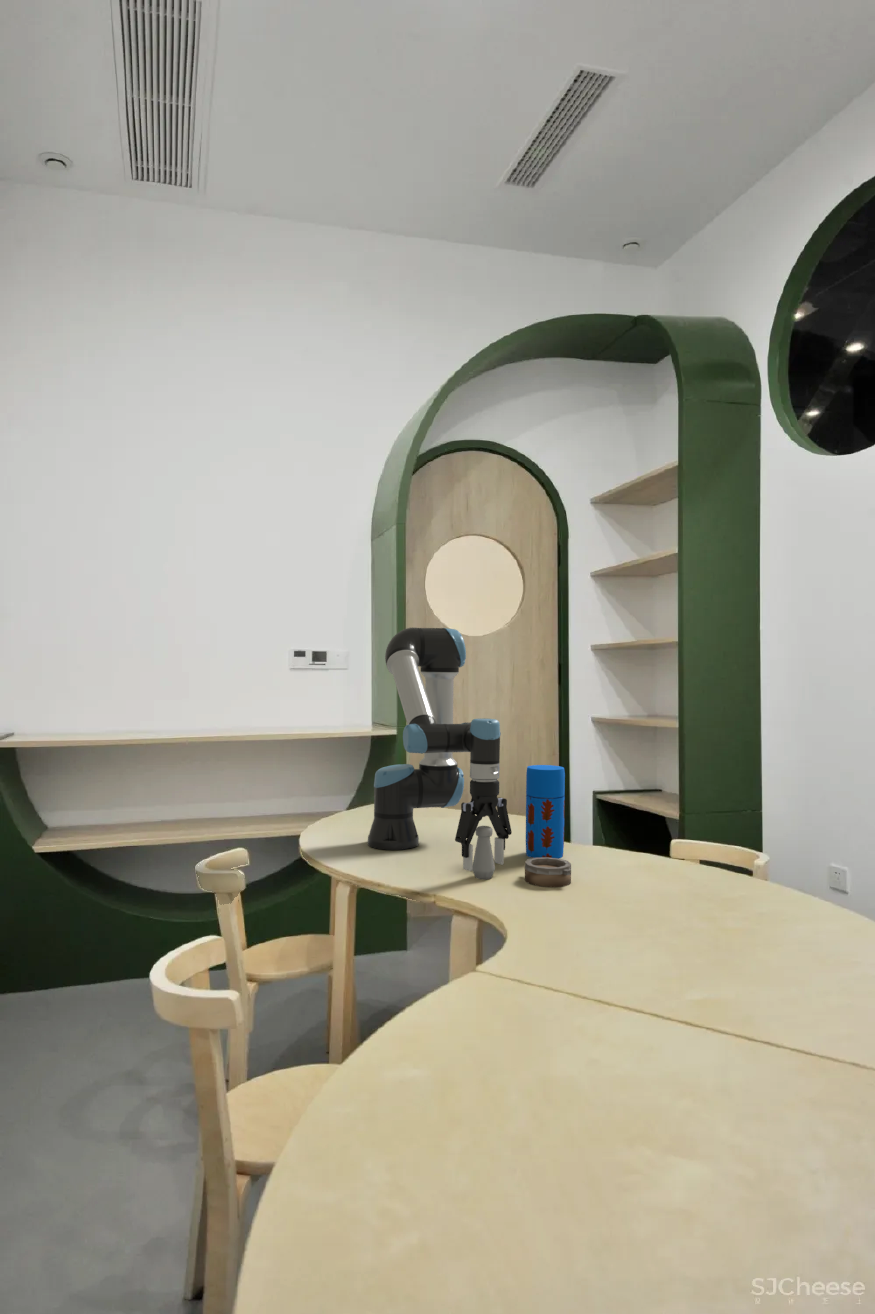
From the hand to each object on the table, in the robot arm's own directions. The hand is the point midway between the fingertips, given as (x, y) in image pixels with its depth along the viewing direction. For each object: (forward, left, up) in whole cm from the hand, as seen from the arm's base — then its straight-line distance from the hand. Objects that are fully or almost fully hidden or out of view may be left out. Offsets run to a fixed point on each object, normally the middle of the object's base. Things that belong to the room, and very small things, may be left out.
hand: (483, 866), depth 210 cm
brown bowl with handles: (+12, +11, -3) cm, 17 cm away
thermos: (-7, +30, -3) cm, 31 cm away
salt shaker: (0, 0, -3) cm, 3 cm away
